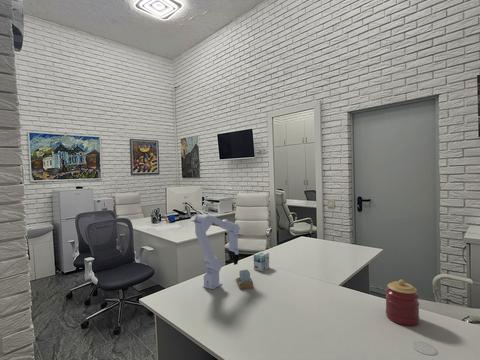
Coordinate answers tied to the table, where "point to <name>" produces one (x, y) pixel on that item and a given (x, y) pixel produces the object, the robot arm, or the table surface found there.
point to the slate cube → (244, 275)
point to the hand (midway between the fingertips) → (233, 262)
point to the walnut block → (244, 284)
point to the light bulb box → (261, 261)
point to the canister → (402, 303)
